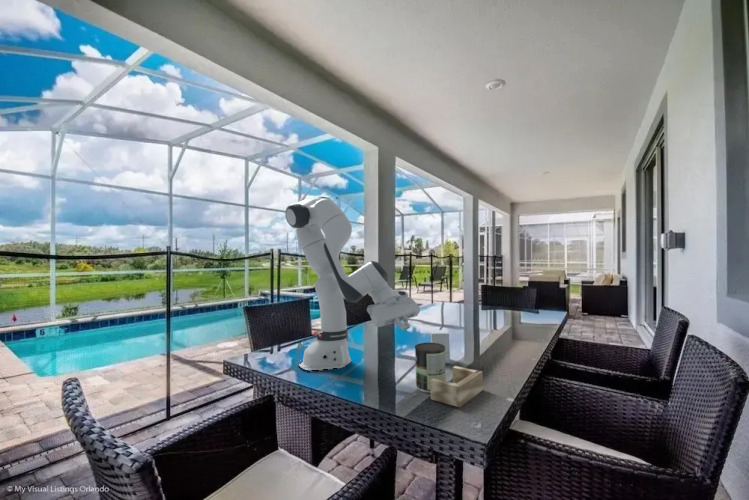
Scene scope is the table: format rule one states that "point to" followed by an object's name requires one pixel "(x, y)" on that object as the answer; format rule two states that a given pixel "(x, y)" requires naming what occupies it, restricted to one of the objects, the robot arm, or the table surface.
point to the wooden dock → (457, 387)
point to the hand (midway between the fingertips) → (406, 328)
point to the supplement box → (442, 341)
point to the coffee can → (429, 364)
